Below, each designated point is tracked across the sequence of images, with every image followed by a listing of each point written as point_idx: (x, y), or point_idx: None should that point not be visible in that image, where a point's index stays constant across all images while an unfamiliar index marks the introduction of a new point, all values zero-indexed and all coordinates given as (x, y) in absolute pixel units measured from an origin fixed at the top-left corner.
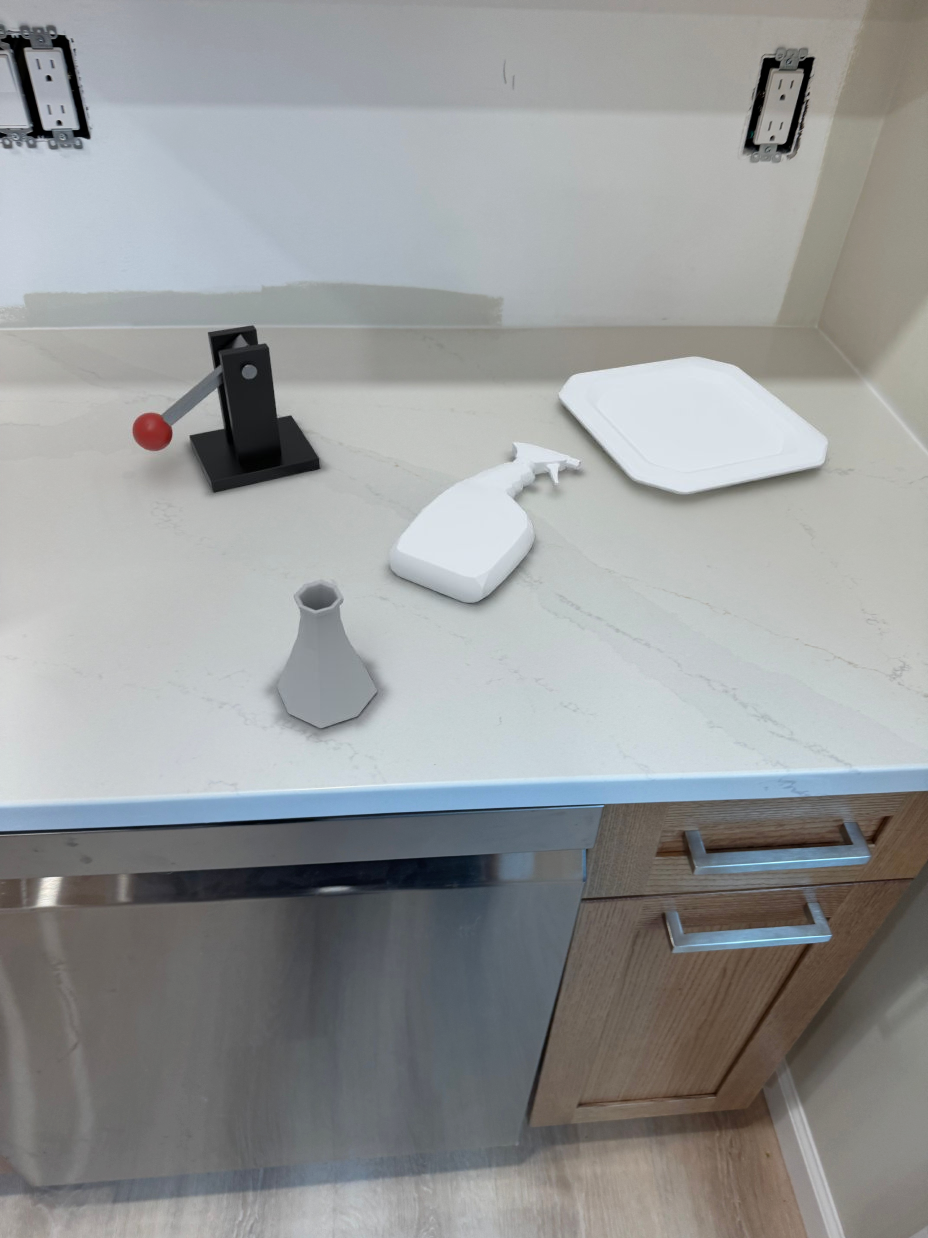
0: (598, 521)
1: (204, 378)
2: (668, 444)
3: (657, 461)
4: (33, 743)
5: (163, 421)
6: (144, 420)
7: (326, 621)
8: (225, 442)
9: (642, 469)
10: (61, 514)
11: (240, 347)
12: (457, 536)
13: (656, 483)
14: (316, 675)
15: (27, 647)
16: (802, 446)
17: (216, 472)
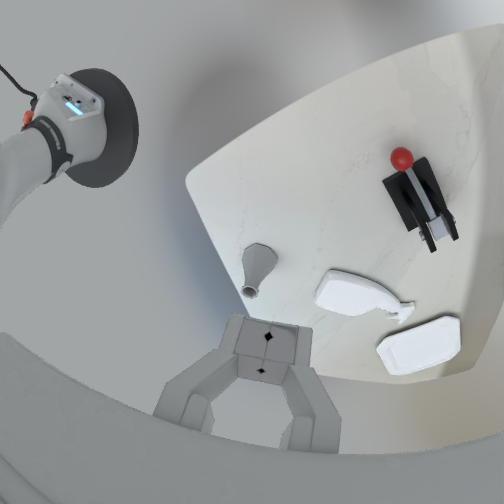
0: (368, 325)
1: (428, 201)
2: (408, 344)
3: (398, 342)
4: (203, 171)
5: (403, 170)
6: (400, 161)
7: (246, 289)
8: (421, 181)
9: (389, 341)
10: (347, 105)
11: (432, 238)
12: (341, 297)
13: (381, 343)
14: (244, 271)
15: (246, 140)
16: (398, 371)
17: (392, 184)
